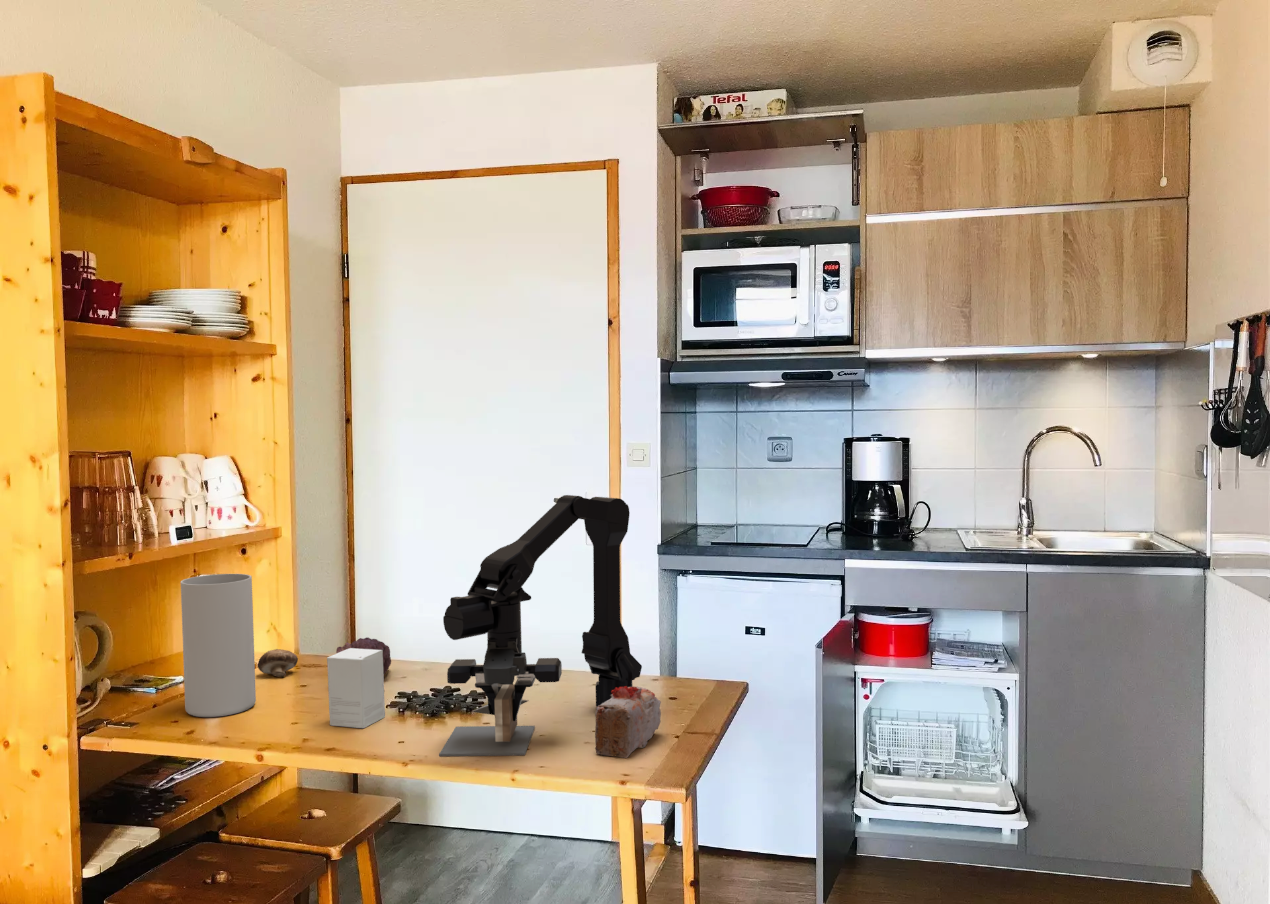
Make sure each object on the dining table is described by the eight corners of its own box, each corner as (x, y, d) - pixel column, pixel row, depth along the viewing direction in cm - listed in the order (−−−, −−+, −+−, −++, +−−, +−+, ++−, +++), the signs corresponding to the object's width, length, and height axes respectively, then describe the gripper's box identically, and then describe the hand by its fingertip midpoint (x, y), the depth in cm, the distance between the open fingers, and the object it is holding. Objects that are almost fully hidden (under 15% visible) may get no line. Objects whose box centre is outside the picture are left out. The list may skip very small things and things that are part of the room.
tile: (517, 724, 173) (516, 684, 172) (510, 741, 164) (508, 699, 163) (503, 724, 173) (502, 684, 173) (495, 741, 164) (494, 699, 164)
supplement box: (386, 717, 183) (384, 649, 183) (363, 729, 176) (360, 659, 176) (352, 713, 186) (350, 646, 185) (327, 725, 179) (325, 656, 178)
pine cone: (362, 668, 218) (386, 630, 219) (393, 694, 215) (418, 655, 215) (312, 666, 202) (339, 625, 202) (345, 694, 198) (372, 652, 198)
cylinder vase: (261, 711, 188) (257, 580, 187) (189, 722, 182) (185, 587, 181) (249, 695, 199) (245, 571, 198) (181, 705, 192) (176, 577, 191)
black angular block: (497, 721, 181) (496, 694, 181) (463, 715, 185) (462, 690, 185) (536, 701, 193) (536, 676, 193) (503, 697, 197) (503, 672, 196)
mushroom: (287, 666, 209) (282, 639, 212) (253, 681, 209) (248, 654, 212) (306, 675, 216) (301, 649, 219) (273, 689, 216) (269, 663, 219)
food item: (621, 729, 174) (620, 674, 173) (664, 734, 171) (663, 677, 171) (590, 755, 161) (589, 695, 161) (636, 760, 158) (635, 699, 158)
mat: (534, 727, 175) (534, 725, 175) (524, 755, 161) (524, 752, 161) (455, 728, 176) (455, 726, 176) (439, 756, 162) (439, 753, 162)
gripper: (439, 641, 160) (441, 737, 160) (554, 639, 159) (556, 735, 160) (452, 626, 171) (455, 715, 172) (561, 624, 171) (562, 714, 171)
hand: (506, 720), depth 168 cm, fingers closed on tile, 2 cm apart
